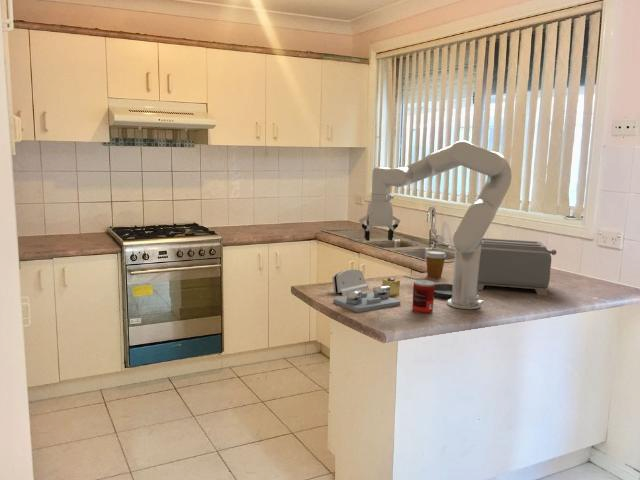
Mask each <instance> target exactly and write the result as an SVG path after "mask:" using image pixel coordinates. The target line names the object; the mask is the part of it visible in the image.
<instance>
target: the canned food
mask: <svg viewBox="0 0 640 480" xmlns="http://www.w3.org/2000/svg"><path fill="white" fill-rule="evenodd" d="M435 284H436V283H435V282H434V281H432V280H428V279H420V280H414V281H413V291H412V308H411V309H412V311H413V312H414V313H418V314H423V315H424V314H431V313H432V312H433V310H434V301H435V300H434V299H435V296H434V288H435Z"/></svg>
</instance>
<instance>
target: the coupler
mask: <svg viewBox="0 0 640 480" xmlns="http://www.w3.org/2000/svg"><path fill="white" fill-rule="evenodd" d="M400 283H401V280H399V279H396V278H394V277H387V278H384V279H382V283H381V284H382V286H389V287H390V292H389V293H387V294H389V297H394V296H400V288H401V287H400V286H401V285H400Z"/></svg>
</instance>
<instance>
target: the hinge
mask: <svg viewBox="0 0 640 480" xmlns="http://www.w3.org/2000/svg"><path fill="white" fill-rule="evenodd" d="M331 279H332V286H333V294H339V293H341V296H342V297H345V296H347V294H348V293H350V292H353V291H356V290H360V291H361V292H364V291H369V284H367V283H366V281H365V278H364V274H363V271H362V270H360V269H353V268H352V269H345V270H342V271H340V272H338V273H336V274H334V275H333V276H332V278H331Z"/></svg>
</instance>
